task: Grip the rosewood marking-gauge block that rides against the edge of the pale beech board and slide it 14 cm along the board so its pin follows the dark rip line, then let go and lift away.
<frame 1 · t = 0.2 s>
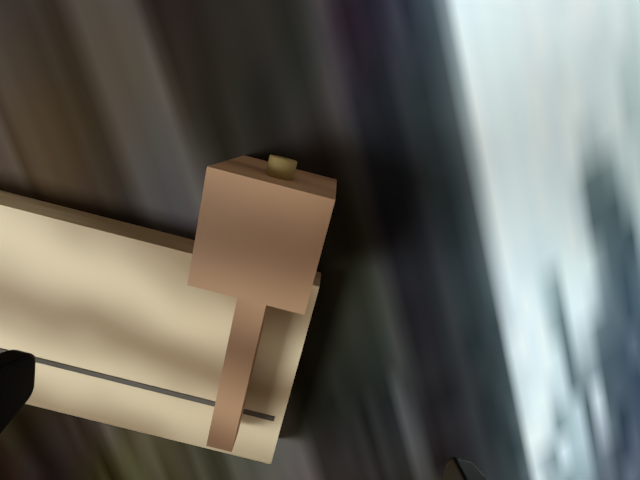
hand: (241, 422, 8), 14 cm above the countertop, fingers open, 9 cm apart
gauge: (252, 311, 20), point 3 cm above the countertop, slide at 0.0 cm
board: (72, 304, 23), on the countertop
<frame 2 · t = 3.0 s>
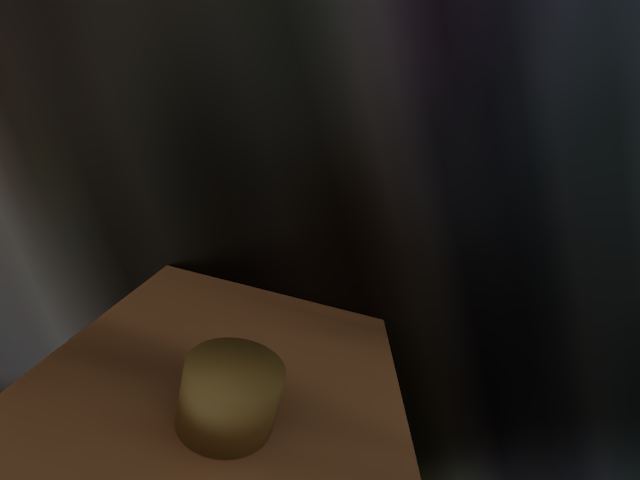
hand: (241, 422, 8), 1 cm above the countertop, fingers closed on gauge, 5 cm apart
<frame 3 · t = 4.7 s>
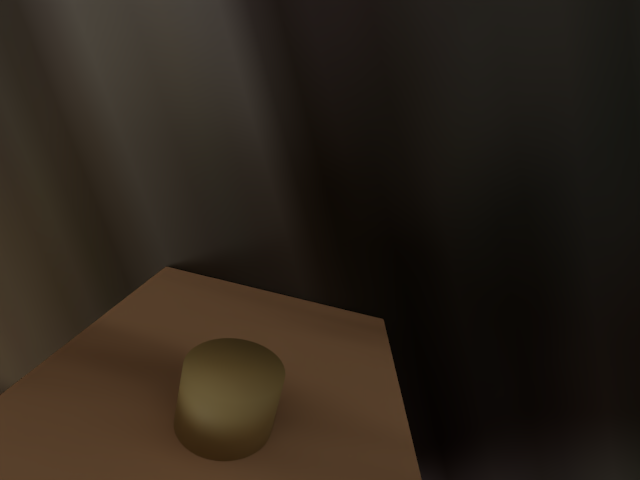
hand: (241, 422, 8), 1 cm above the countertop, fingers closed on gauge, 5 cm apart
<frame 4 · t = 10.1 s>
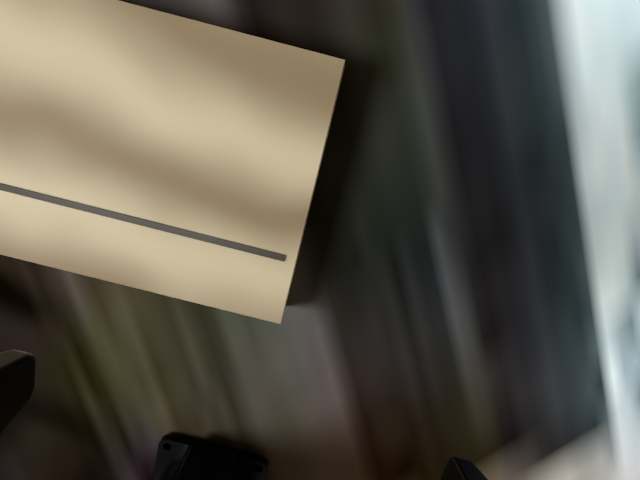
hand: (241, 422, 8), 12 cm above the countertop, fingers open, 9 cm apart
board: (30, 125, 19), on the countertop
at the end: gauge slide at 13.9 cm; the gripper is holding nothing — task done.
